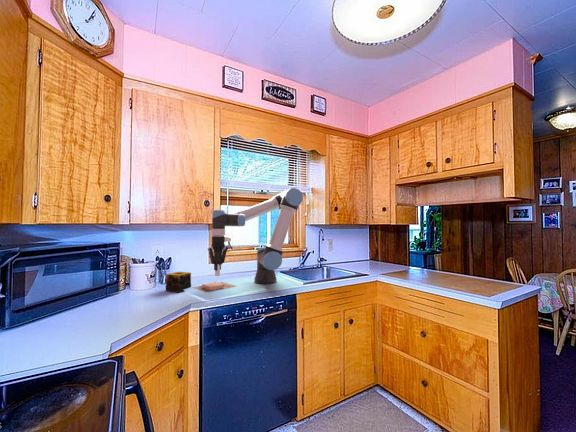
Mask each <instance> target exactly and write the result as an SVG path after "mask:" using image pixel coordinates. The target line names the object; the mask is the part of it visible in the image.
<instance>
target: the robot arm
mask: <svg viewBox="0 0 576 432" xmlns="http://www.w3.org/2000/svg"><path fill="white" fill-rule="evenodd" d="M303 200H304V196H303V193H302V191H301V190H300V189H298V188H296V187H290V188H288V189H286V190H284V191H282V192H281V193H278V194H276V195H275V196H272V198H271V199H268V200H265V201H263V202H261V203H258V204H255V205H252V206H251V207H248V208H245V209H243V210H240V211H238V212H236V213H226V210H224V209H221V210H220V209H215V210H213V211H212V217H211V218H212V219H211V224H212V225H211V228H212V229H211V235H212V236H211V244H210V245H211V246H210V247H207V251H208V254H209V259H210V264H212V265H213V266H214V267H213V270H214V276H215V277H220V274H221V272H220V271H221V270H222V265H223V264H224V263H225V260H226V255H227V252H228V250H229V247H228V246H226V244H225V241H226V240H225V239H226V238H225V235H226V227H245V225H246V222H248V221H251V220H253V219H255V218H257V217H260V216H263V215H265V214H267V213H270V212H272V211H275V210H277V211H278V210H280V211H279V214H278V216H277V220H276V223H275V226H274V228H273V232H272V234H271V238H270V240H269V243H268V244H266V245H265V246H264V247H258V248H257V251H256V253H257V255H256V271H255V272H256V273H255V275H254V276H255V277H254V278H253V280H254V283H256V284H263V285H266V284H274V283H277V280H278V279H277V276H276V275H277V274H276V272H275V270H278V269H279V268H280V267H281V266H282V263H283V258H282V257H283V253H284V250H283V245H284V243H285V240H286V236H287V234H288V231H289V228H290V225H291V221H292V219H293V216H294V213H296V212H297V211H298V208H299V206H300V205H301V204H302V203H303Z"/></svg>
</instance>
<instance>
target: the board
mask: <svg viewBox="0 0 576 432" xmlns="http://www.w3.org/2000/svg"><path fill="white" fill-rule="evenodd" d="M219 283H221V284H224V288H222V289H217V290H212V291H210V290H207V289H204V288H202V285H199V286H193V287H192V286H191V287H192V288H193V289H196V290H198V291H201V292H204V293H206V294H207V293H212V292H216V291H221V290H225V289H230V288H237V285H235V284H232V283H228V282H224V281H220V282H219Z"/></svg>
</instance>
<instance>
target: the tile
mask: <svg viewBox="0 0 576 432" xmlns="http://www.w3.org/2000/svg"><path fill="white" fill-rule="evenodd" d="M201 286H202V288H204V289H207V290H210V291H212V290H217V289H222V288H224V284H221V283H220V282H218V281H215V282H209V283H203V284H202V285H201ZM222 290H223V289H222ZM217 291H218V290H217ZM212 292H213V291H212Z"/></svg>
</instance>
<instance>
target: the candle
mask: <svg viewBox="0 0 576 432" xmlns="http://www.w3.org/2000/svg"><path fill="white" fill-rule="evenodd" d="M165 276H166V279H165V281H166V282H165V292H168V293H169V292H170V293H174V294H175V293H176V294H181V293H183V292H185V290H186V289H189V288H191V287H192V272H187V271H173V272H170V273H165Z"/></svg>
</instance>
